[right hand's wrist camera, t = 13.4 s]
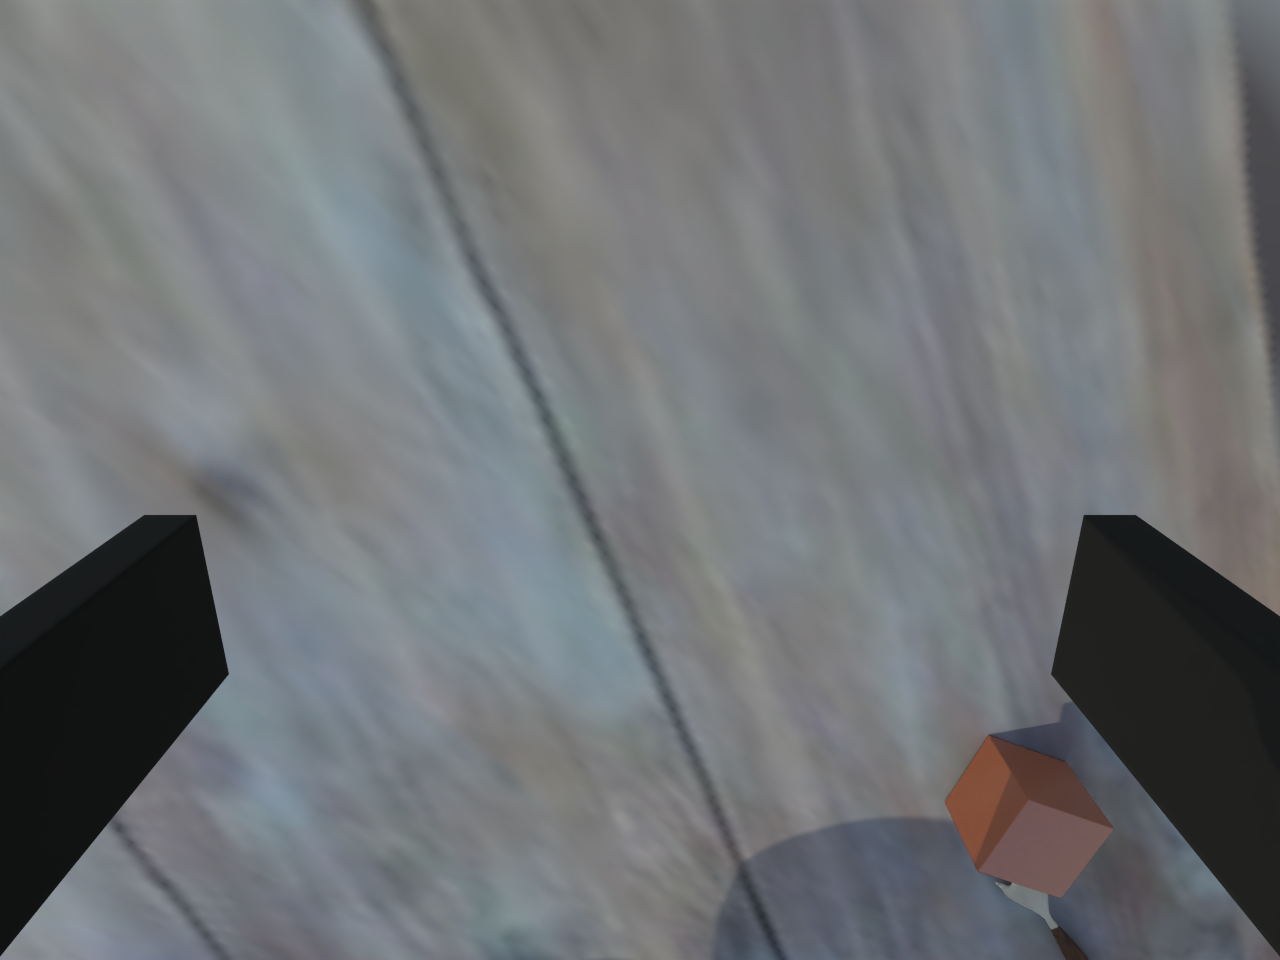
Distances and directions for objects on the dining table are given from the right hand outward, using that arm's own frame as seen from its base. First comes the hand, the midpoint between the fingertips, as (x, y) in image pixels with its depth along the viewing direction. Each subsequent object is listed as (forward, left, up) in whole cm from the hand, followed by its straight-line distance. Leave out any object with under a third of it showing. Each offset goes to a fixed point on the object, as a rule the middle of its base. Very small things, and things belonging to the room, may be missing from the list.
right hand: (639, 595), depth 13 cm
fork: (+11, +44, -27) cm, 53 cm away
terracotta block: (+6, +33, -27) cm, 43 cm away
